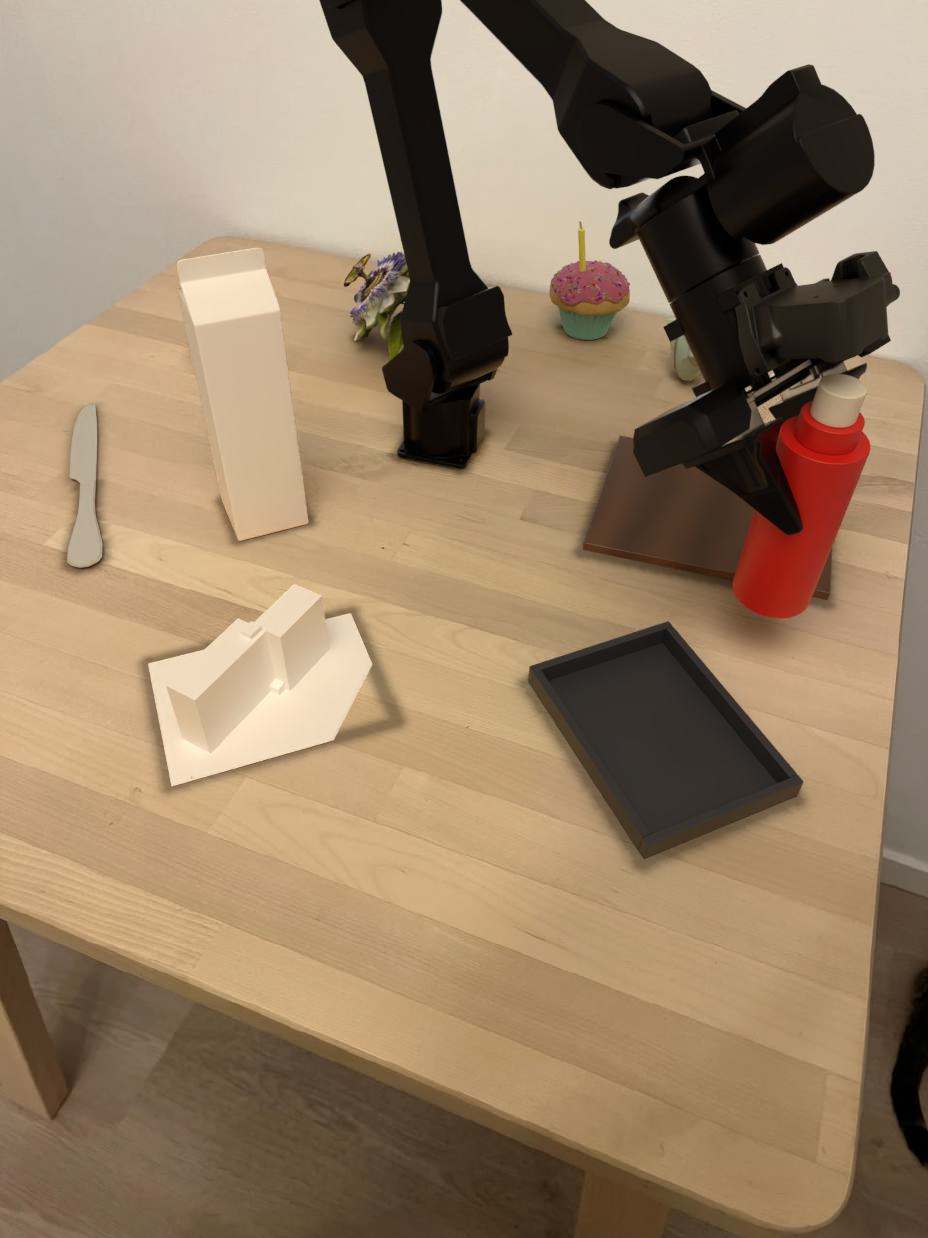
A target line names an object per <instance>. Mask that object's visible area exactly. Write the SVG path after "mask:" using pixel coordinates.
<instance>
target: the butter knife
mask: <svg viewBox="0 0 928 1238" xmlns="http://www.w3.org/2000/svg"><path fill="white" fill-rule="evenodd" d="M97 419H98V418H97V406H96V404H95V403H94V404H93V403H92V404H89V405H86V406H84V407H83V408H82V409H81V410H80V412H79V414H78V415H77V417H76V420H75V423H74V426H73V432H72V436H71V437H72V438H71V443H70V455H69V478H70V479H71V480H75V481H76V482H78V483H79V500H78V501H79V502H78V511H77V515H76V516H77V517H76V520H75V523H74V526H73V530H72V533H71V535H70V540H69V543H68V547H67V557H66V562H67V564H68V565H70V566H71V567H74V568H79V569H83V568H89V567H92V566H94V565H95V564H98V563H99V562H100V560H101V559H102V558H103V544H104V543H103V540H102V536H101V531H100V527H99V523H98V518H97V516H96V488H97V487H96V486H97V465H98V464H97V460H98V421H97Z"/></svg>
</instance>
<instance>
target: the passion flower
mask: <svg viewBox="0 0 928 1238" xmlns="http://www.w3.org/2000/svg"><path fill="white" fill-rule="evenodd" d="M371 256H372V255H371V253H369V252H368V253H367V254H365V255H364V256H362V257H361V258H360V259H359V260H358V262H356V264H354V265H352V268H351V270H350V271H349V273H348V274H347V275H346V277H345V278H344V282H343V287H344V288H347V287H349V286H350V285H351V284H352V283H354V282H357V280H358V278H363V280H364V282H363V285H361V286H360V287H359V290H358V292H357V293H355V294H354V295H353V302H354V303H355V305H354V307H353V308H352V309H351V310H350V311H349V314H350V315H349V317H350V318H352V322H351V324H354V325H355V326H357V327H358V330H357V331H356V333H355V336H354V338H353V341H354V342H355V343H359V342H362V341H363V340H364V339H366V338H368V337H369V335H370V334H371V331H372V329H374V328H376V327H377V326H378V325H379V334H380V335H381V338H382V339H383V340H386V339H387V348H388V358H389V361H390V360H391V359H393V358H394V357H395V356H396V355H397V354H398V353H400V352H401V351H402V350H403V349H404V346H403V339H402V332H401V325H400V318H401V314H402V311H401V310H400V312H398V313H396V314H395V316H393V315H394V313H395V311H396V310H397V308H398V307H399V306H400V305H402V306H404V302H405V299H406V295H407V291H408V287H409V284H410V278H409V273H408V268H407V264H406V260H405V255H404V252H402V251H397V253H395V252H393V253H392V254H388V255H387V256H383V259H382V260H381V261H380V260H379V259H377V260H376V262H377V265H376V268H374V270H370V272H369V273H368V274H366V272H365V271H364V270H365V268H366V265H367V263H368V261H370V259H371ZM388 329H389V333H387V332H388ZM387 334H388V337H387Z"/></svg>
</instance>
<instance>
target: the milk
mask: <svg viewBox="0 0 928 1238" xmlns="http://www.w3.org/2000/svg"><path fill="white" fill-rule="evenodd" d="M265 257H266V256H265V251H264V250H263V249H262V248H261V247H253V248H246V249H239V250H235V251H234V250H233V251H227V252H226V251H225V252H220V253H214V254H209V255H201V256H196V257H189V258H184V259H179V260H178V261H177V263H176V270H177V276H178V280H179V284H178V285H177V287H176V293H177V297H178V298H177V299H178V302H179V307H180V311H181V316H182V321H183V325H184V330H185V334H186V340H187V345H188V350H189V353H190V357H191V363H192V368H193V372H194V377H195V381H196V386H197V391H198V395H199V396H198V397H199V401H200V405H201V411H202V415H203V418H204V425H205V428H206V434H207V438H208V443H209V447H210V453H211V457H212V461H213V467H214V472H215V476H216V480H217V486H218V490H219V494H220V499H221V502H222V505H223V507H224V509H225V512H226V514H227V517H228V519H229V522H230V523H231V527H232V530H233V531H234V534H235V537H236V540H237V541H239V542H242V541H245V540H249V539H254V538H258V537H261V536H266V535H269V534H273V533H278V532H282V531H285V530H289V529H293V528H297V527H301V526H305V525H308V524H310V523H309V513H308V507H307V506H308V505H307V498H306V492H305V484H304V477H303V470H302V469H303V468H302V461H301V454H300V447H299V439H298V432H297V425H296V417H295V410H294V409H295V407H294V403H293V402H294V401H293V395H292V388H291V386H292V385H291V378H290V371H289V363H288V355H287V349H286V340H285V333H284V326H283V319H282V312H281V307H280V303H279V301H278V298H277V295H276V293H275V289H274V287H273V284H272V281H271V279H270V275H269V273H268V270H267V265H266V258H265Z"/></svg>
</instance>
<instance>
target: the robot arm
mask: <svg viewBox="0 0 928 1238" xmlns="http://www.w3.org/2000/svg"><path fill="white" fill-rule="evenodd" d="M459 1H460V3H462V5H464V6H465V8H466V9H468V11H469V12H470V13H471V14H472V15H473V16H474V17H475V18H476V19H477V21H479V22H480V23H481V24H482V25H483V26H484V27H485V29H486V30H488V32H489V33H490V34H491V35H492V36H493V37H494V38H495V39H496V40H497V41H498V42H499V43H500V44H501V45H502V46H503V47H504V48H505V49H506V50H507V51H508V52H509V53H510V54H511V55H512V56H513V57H514V59H515V60H516V61H517V62H519V64H520V65H521V66H522V67H523V68H524V69H525V70H526V71H527V72H528V73H529V74H530V76H532V77H533V78H534V79H535V80H536V81H537V82H538V83H539V85H540V86H541V87H542V88H543V89H544V91H545V92H546V94H547V95H548V96H549V98H550V99H551V100H552V105H553V111H554V116H555V122H556V128H557V131H558V133H559V135H560V137H561V138H562V140H563V141H564V142H565V144H566V145H567V147H568V148H569V150H570V151H571V152H572V155H574V157H575V158H576V160H577V161H578V163H579V164H580V165H581V167H582V169H583V170H584V171H585V173H586V174H587V176H589V178H590V179H591V180H592V181H593V182H595V183H596V184H597V185H599V186H600V187H602V188H604V189H607V190H613V189H621V188H628V187H632V186H634V185H636V184H637V185H638V184H640V183H642V182H645V181H648V180H650V179H652V180H660V179H662V178H665V177H668V176H670V175H673V174H676V173H679V172H682V171H685V170H687V169H690V168H692V167H696V166H698V165H700V166H701V167H702V171H703V174H701V175H700V176H699V177H695V176H692V175H677V176H675V177H672V178H670V179H669V180H668V181H667V182H665V183H664V184H662V185H661V186H660V187H659V188H657V189H656V190H655V191H653V192H652V193H651V194H647V193H645V192H638V193H636V194H633V195H630V196H627V197H625V198H623V199H621V200H619V201H618V203H617V204H618V205H617V215H616V218H615V221H614V224H613V226H612V228H611V231H610V236H609V240H608V244H609V247H610V248H611V249H613V250H617V249H619V248H622V247H624V246H626V245H628V244H629V245H630V244H631V243H634V242H636V241H638V240H639V242H640V245H641V246H642V248H643V251H644V253H645V256H646V257H647V259H648V262H649V264H650V266H651V268H652V271H653V272H654V275H655V277H656V278H657V279H656V280H657V281H658V283H659V285H660V287H661V289H662V291H663V294H664V296H665V298H666V300H667V303H668V305H669V307H670V309H671V311H672V313H673V315H674V318H676V320H674V321H673V322H671V323H669V324H668V325H667V324H666V325H664V326H662V328H663V330H664V332H665V334H666V337H667V338H668V341H669V343H670V342H671V341H673V340H675V339H677V338H679V337H681V336H683V335H684V337H685V339H686V341H687V343H688V346H689V348H690V350H691V352H692V354H693V356H694V359H695V361H696V363H697V365H698V367H699V369H700V371H701V373H700V375H701V376H702V378H703V380H704V381H702V382H701V383H698V384H697V385H695V386H693V387H691V389H692V392H693V394H694V397H693V398H691V399H689V400H687V401H685V402H683V403H680V404H678V405H676V406H674V407H672V408H670V409H668V410H666V411H664V412H663V413H661V414H659V415H657V416H656V417H654V418H652V419H650V420H649V421H647V422H645V423H643V424H642V425H639V426H638V427H636V428H635V429H634V430H633V437H632V438H633V441H632V447H631V448H632V451H633V453H634V455H635V458H636V460H637V462H638V464H639V466H640V468H641V470H642V472H643V474H644V476H645V477H647V476H649V475H652V474H654V473H657V472H660V471H662V470H665V469H668V468H670V467H673V466H676V465H678V464H682V466H683V467H684V468H685V469H689V468H691V467H696V468H697V469H699V470H700V471H702V472H703V473H705V474H706V475H708V476H709V477H711V478H712V479H714V480H715V481H717V482H718V483H720V484H721V485H723V486H724V487H726V488H727V489H729V490H730V491H732V492H733V493H734V494H736V495H737V496H738V497H739V498H741V499H742V500H743V501H745V502H746V503H747V504H748V505H750V506H751V507H752V508H753V509H755V510H756V511H757V512H758V513H760V514H761V515H762V516H763V517H765V518H766V519H767V520H769V521H770V522H771V523H772V524H774V525H775V526H776V527H777V528H779V529H780V530H781V531H782V532H784V533H785V534H786V535H793V534H797V533H800V532H801V531H802V530H803V524H802V521H801V517H800V513H799V510H798V507H797V504H796V501H795V499H794V496H793V493H792V491H791V488H790V486H789V483H788V480H787V478H786V475H785V473H784V470H783V467H782V465H781V462H780V460H779V457H778V454H777V452H776V444H777V440H778V436H779V432H780V428H781V426H782V424H783V423H784V422H785V421H787V420H788V419H790V418H792V417H795V416H798V415H799V414H800V411H801V408H802V407H803V406H804V405H805V404H806V403H808V402H810V401H813V400H814V397H815V394H816V391H817V388H818V385H819V382H820V380H821V379H822V378H823V377H824V376H826V375H829V374H844V375H849V376H852V377H855V378H857V379H859V380H860V377H862V375H864V374H865V373H866V372H867V369H868V363H867V362H865V363H862V364H860V365H857V366H855V367H852V368H849V369H848V368H847V366H846V363H845V362H846V361H848V360H850V359H853V358H855V357H857V356H858V357H860V358H864V357H867V356H869V355H871V354H872V353H873V352H876V351H878V350H879V349H880V348H882V347H884V346H885V345H887V344H888V343H890V342H891V341H892V340H891V337H890V334H889V323H888V307H889V305H890V304H892V303H894V302H896V301H897V300H898V299H899V298H900V295H901V290H900V287H899V286H898V285H896V284H894V283H893V277H892V274H891V273H892V272H890V271H889V269H888V268H887V266H886V264H885V263H884V261H883V259H882V257H881V255H880V253H879V252H878V251H877V250H873V251H864V252H856V253H853V254H851V255H848V256H847V257H845V258H844V259H841V260H840V261H838V262H837V263H836V265H835V268H834V271H833V273H832V276H831V279H830V278H828V277H827V278H822V279H820V280H818V281H816V282H814V283H809V284H808V283H807V284H800V285H799V284H798V283H797V282H796V281H795V278H794V276H793V274H792V272H791V270H790V269H789V268H788V267H786V266H784V264H783V263H782V262H780V263H778V264H777V265H774V266H772V267H770V268H769V269H767V267H766V264H765V262H764V260H763V257H762V255H761V254H760V251H759V248H758V246H757V245H762V246H766V245H767V246H768V245H774V244H775V243H777V242H779V241H780V240H782V239H784V238H785V237H787V236H789V235H791V234H793V233H794V232H796V231H797V230H799V229H800V228H802V227H804V226H806V225H807V224H809V223H811V222H812V221H814V220H816V219H817V218H819V217H821V216H822V215H824V214H825V213H827V212H829V211H830V210H833V208H835V207H837V206H839V205H840V204H842V203H844V202H845V201H847V200H848V199H849V200H850V198H852V197H854V196H855V195H857V194H859V193H861V192H863V191H864V189H865V188H866V187H868V185H869V184H870V182H871V180H872V179H873V176H874V175H873V174H874V171H875V165H876V163H875V160H876V159H875V154H876V153H875V147H874V141H873V138H872V135H871V131H870V129H869V125H868V124H867V122H866V119H865V117H864V116H863V114H861V113H857V112H856V110H855V109H854V108H853V106H852V104H851V103H850V102H848V100H847V99H846V98H845V97H844V96H843V95H842V94H840V93H839V92H838V91H837V90H835V89H834V88H832V87H830V86H828V85H825V84H822V82H821V79H820V77H819V75H818V73H817V70H816V68H815V66H814V65H813V64H810V63H809V64H805V65H801V66H799V67H795V68H792V69H789V70H786V71H785V72H784V73H783V74H781V75H780V76H779V77H777V78H776V79H775V80H774V81H772V82H771V84H770V85H768V86H767V88H766V89H765V91H764V92H763V93H762V94H761V96H760V97H758V98H757V99H756V100H755V101H753V103H751V104H750V105H748V106H747V107H745V106H743V105H741V104H739V103H737V102H735V101H733V100H731V99H730V98H728V97H725V96H724V95H722V94H720V93H719V92H716V91H714V90H712V89H711V85H710V83H709V81H708V80H707V78H706V76H705V75H704V74H703V73H702V71H701V70H700V69H699V68H697V67H696V66H695V65H694V64H692V63H691V62H689V61H688V60H686V59H685V58H683V57H682V56H680V55H679V54H678V53H677V54H676V53H675V52H673V50H670V49H669V48H668V47H665V46H664V45H663V44H662V43H660V42H657V41H655V40H653V39H649V38H647V37H644V36H641V35H639V34H636V33H632V32H630V31H626V30H623V29H620V28H619V27H617V26H615V25H614V24H612V23H611V22H609V21H608V20H607V19H605V18H604V17H603V16H602V15H601V14H600V13H599V12H598V11H597V10H596V9H595V8H594V7H593V6H592V5H591V4H590V3H589V2H588V1H587V0H459ZM319 5H320V6H321V10H322V12H323V13H322V14H323V16H324V19H325V22H326V25H327V28H328V31H329V34H330V36H331V39H332V40H333V42H334V43H335V45H336V46H337V47H338V49H340V50H341V52H342V53H343V54H344V56H345V57H346V58H347V60H349V61H350V63H351V64H352V65H353V66H354V68H355V69H356V70H357V71H358V73H359V74H360V75H361V77H362V79H363V82H364V86H365V90H366V94H367V98H368V99H367V100H368V103H369V107H370V113H371V116H372V120H373V125H374V130H375V133H376V134H375V135H376V137H377V138H376V139H377V142H378V146H379V150H380V155H381V160H382V164H383V168H384V172H385V177H386V181H387V185H388V186H387V187H388V190H389V194H390V199H391V202H392V207H393V211H394V216H395V220H396V224H397V229H398V233H399V237H400V242H401V247H402V251H403V254H404V255H405V260H406V264H407V268H408V273H409V278H410V284H409V287H408V291H407V295H406V299H405V302H403V303H404V305H402V306H403V307H402V314H401V318H400V325H401V332H402V339H403V346H404V349H403V350H402V351H401V352H400V353H398V354H397V355H396V356H395V357H394V358H393V359H391V360H390V359H389V361H388V362H386V363H385V364H384V365H383V366H382V368H381V371H382V375H383V379H384V382H385V387H386V390H387V392H388V393H390V394H391V395H393V396H395V397H396V398H398V399H399V400H401V405H402V407H401V408H402V410H401V411H402V433H403V440H402V441H401V443H400V445H399V446H398V448H397V450H396V455H397V457H398V458H400V459H406V460H411V461H416V462H421V463H427V464H431V465H437V466H441V467H442V466H443V467H447V468H452V469H457V470H464V469H466V468H467V466H468V465H469V463H470V461H471V459H472V457H473V455H475V454H476V453H478V451H479V449H480V448H481V445H482V444H483V442H484V439H485V428H486V427H485V425H486V423H485V422H486V401H485V400H484V399H483V398H480V397H481V391H480V390H481V384H483V383H485V382H487V381H488V382H491V381H492V380H494V379H495V377H496V374H497V371H498V369H499V368H500V367H501V366H502V364H503V363H504V361H505V359H506V357H508V355H509V350H510V343H509V341H510V340H509V337H511V336H512V335H513V331H512V329H511V327H510V324H509V321H508V318H507V313H506V305H505V294H504V293H503V290H502V288H501V287H500V286H499V285H495V286H494V285H493V286H490V287H489V286H488V285H487V283H486V282H485V281H484V280H483V279H482V278H481V276H480V275H479V274H478V273H477V271H476V270H475V269H474V268H473V267H472V263H471V258H470V255H469V254H470V253H469V250H468V249H469V248H468V245H467V243H468V242H467V239H466V233H465V229H464V223H463V218H462V215H461V214H462V213H461V209H460V208H461V207H460V204H459V199H458V193H457V189H456V183H455V179H454V173H453V168H452V162H451V158H450V153H449V148H448V143H447V138H446V134H445V128H444V127H445V126H444V122H443V118H442V113H441V108H440V102H439V97H438V93H437V87H436V82H435V77H434V73H433V66H432V55H433V53H434V47H435V45H436V44H435V43H436V40H437V37H438V33H439V29H440V24H441V21H442V16H443V1H442V0H319ZM770 372H773V373H771V374H769V373H770ZM747 388H748V389H747ZM777 396H780V398H781V399H780V400H779V401H777V402H776V403H774V404H772V405H771V406H769V407H768V408H767V409H768V411H769V412H770V414H771V415H772V417H773V418H774V419H772V420H770V421H766V422H765V421H764V419H763V417H762V415H761V413H760V410H759V407H760V406H762V405H764V404H766V403H767V402H769V401H770V400H772V399H774V398H775V397H777Z"/></svg>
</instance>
